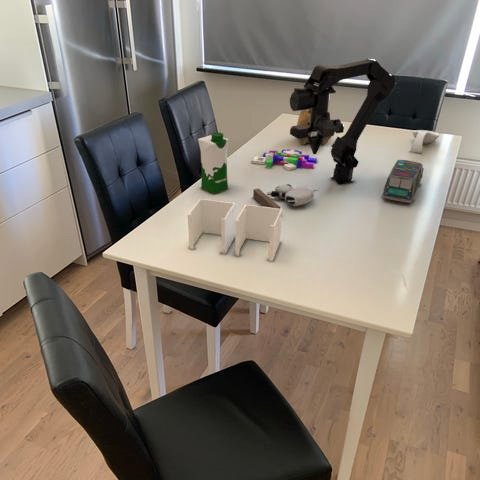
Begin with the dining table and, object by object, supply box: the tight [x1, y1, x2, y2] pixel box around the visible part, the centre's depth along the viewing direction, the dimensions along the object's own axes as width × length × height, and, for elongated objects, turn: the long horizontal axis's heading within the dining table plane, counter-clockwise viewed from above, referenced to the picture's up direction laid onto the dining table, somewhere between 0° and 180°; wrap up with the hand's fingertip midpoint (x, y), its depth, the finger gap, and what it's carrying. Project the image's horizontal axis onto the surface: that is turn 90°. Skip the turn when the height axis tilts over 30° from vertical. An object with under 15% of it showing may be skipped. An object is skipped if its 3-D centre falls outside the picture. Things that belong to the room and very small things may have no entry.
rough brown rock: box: [296, 109, 333, 146], centre depth 213 cm, size 23×17×15 cm
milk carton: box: [197, 131, 230, 195], centre depth 169 cm, size 9×9×20 cm
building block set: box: [251, 148, 318, 171], centre depth 197 cm, size 25×20×4 cm
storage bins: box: [187, 198, 283, 262], centre depth 140 cm, size 25×11×11 cm, turn 75°
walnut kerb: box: [252, 188, 281, 209], centre depth 163 cm, size 2×16×3 cm, turn 24°
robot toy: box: [266, 183, 320, 207], centre depth 167 cm, size 12×4×15 cm
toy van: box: [381, 159, 425, 204], centre depth 172 cm, size 11×25×10 cm, turn 155°
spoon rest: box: [409, 129, 440, 154], centre depth 213 cm, size 24×12×7 cm, turn 152°
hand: (314, 154), depth 171 cm, fingers closed
